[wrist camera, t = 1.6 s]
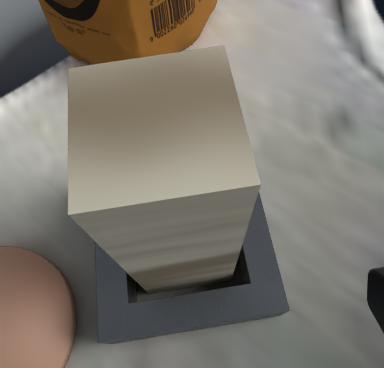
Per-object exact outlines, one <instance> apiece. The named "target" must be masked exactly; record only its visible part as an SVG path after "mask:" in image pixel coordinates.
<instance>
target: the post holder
mask: <svg viewBox="0 0 384 368" xmlns="http://www.w3.org/2000/svg"><path fill="white" fill-rule="evenodd" d="M95 257H96V287H97V317H98V343H107V344H114V343H120V342H126V341H132V340H138V339H144V338H150V337H156V336H162V335H168V334H174V333H180V332H186V331H192V330H198V329H204V328H209V327H215V326H221V325H227V324H233V323H239V322H245V321H251V320H257V319H263V318H269V317H275V316H280V315H282V314H284V313H286V312H288V311H290V310H289V306H288V302H287V298H286V294H285V291H284V287H283V283H282V279H281V275H280V271H279V267H278V264H277V260H276V256H275V252H274V248H273V244H272V240H271V237H270V233H269V229H268V225H267V221H266V217H265V213H264V210H263V206H262V202H261V198H260V194H259V192H258V196H257V199H256V202H255V205H254V208H253V212H252V215H251V218H250V221H249V224H248V228H247V231H246V234H245V237H244V241H243V244H242V247H241V250H240V253H239V261H240V265H241V270H242V275H243V279H244V284H245V285H239V286H233V287H227V288H221V289H215V290H209V291H202V292H196V293H190V294H184V295H178V296H172V297H166V298H160V299H154V300H148V301H142V302H137V294H136V282H135V280H134V279H133V278H132V277H131V276H130V275H129V274H128V273H127V272H126V271H125V270H124V269H123V268H122V267H121V266H120V265H119V264H118V263H117V262H116V261H115V260H114V259H113V258H112V257H111V256H110V255H108V254H107V253H106V252H105V251H104V250H103V249H102V248H101V247H100V246H99V245H98V244H97V243H96V242H95Z"/></svg>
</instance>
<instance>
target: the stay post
mask: <svg viewBox="0 0 384 368" xmlns="http://www.w3.org/2000/svg"><path fill="white" fill-rule="evenodd" d="M260 186H261V183H260V179H259V175H258V172H257V168H256V164H255V160H254V157H253V153H252V149H251V145H250V141H249V138H248V134H247V130H246V126H245V123H244V119H243V115H242V111H241V108H240V104H239V100H238V96H237V92H236V89H235V85H234V81H233V77H232V74H231V70H230V66H229V62H228V58H227V55H226V51H225V47H224V46H217V47H210V48H203V49H196V50H189V51H183V52H176V53H169V54H162V55H155V56H148V57H142V58H135V59H128V60H121V61H114V62H107V63H101V64H94V65H87V66H80V67H73V68H68V216H69V217H71V218H72V219H73V220H74V221H75V222H76V223H77V224H78V225H79V226H80V227H81V228H82V229H83V230H84V231H85V232H86V233H87V234H88V235H89V236H90V237H91V238H92V239H93V240H94V241H95V242H96V243H97V244H98V245H99V246H100V247H101V248H102V249H103V250H104V251H105V252H106V253H107V254H108V255H110V256H111V257H112V258H113V259H114V260H115V261H116V262H117V263H118V264H119V265H120V266H121V267H122V268H123V269H124V270H125V271H126V272H127V273H128V274H129V275H130V276H131V277H132V278H133V279H134V280H135V281H136V282H137V283H138V284H139V285H140V286H141V287H142V288H143V289H144V290H145V291H146V292H148V293H149V294H154V293H160V292H166V291H172V290H178V289H184V288H190V287H196V286H202V285H208V284H214V283H220V282H227V281H231V279H232V276H233V273H234V269H235V266H236V263H237V260H238V257H239V253H240V250H241V247H242V244H243V241H244V237H245V234H246V231H247V228H248V224H249V221H250V218H251V215H252V212H253V208H254V205H255V202H256V199H257V196H258V192H259V189H260Z"/></svg>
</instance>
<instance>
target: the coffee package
mask: <svg viewBox="0 0 384 368" xmlns="http://www.w3.org/2000/svg"><path fill="white" fill-rule="evenodd" d="M39 2H40V5H41V7H42V10H43V12H44V14H45V16H46V19H47V21H48V23H49V25H50V28H51V30H52V32H53V34H54V37H55V40H56V41H57V42H58V43H59V44H61V45H63V46H64V48H65V49H66V50H67V52H69V54H70V55H71V56H72V57H74V58H75V59H77V60H79V61H85V62H88V63H89V64H91V65H94V64H101V63H107V62H114V61H121V60H128V59H135V58H142V57H148V56H155V55H162V54H169V53H176V52H180V51H182V50H184V49H186V48H187V47H189V46H190V45H192V44H193V43H194V42H195V41H196V40H197V39H198V37H199V36H200V34H201V32H202V30H203V28H204V26H205V24H206V22H207V20H208V18H209V16H210V14H211V13H212V11H213V10H214V8H215V6H216V3H217V0H39Z"/></svg>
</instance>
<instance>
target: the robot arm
mask: <svg viewBox="0 0 384 368" xmlns="http://www.w3.org/2000/svg"><path fill="white" fill-rule="evenodd" d="M367 302H368V305H369V308H370V310H371V311H372V313H373V315H374V317H375V319H376V320H377V322H378V324H379V326H380V327H381V329H382V331H383V333H384V267H381V268H375V269H371V270H370V271H369V273H368V284H367Z"/></svg>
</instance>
